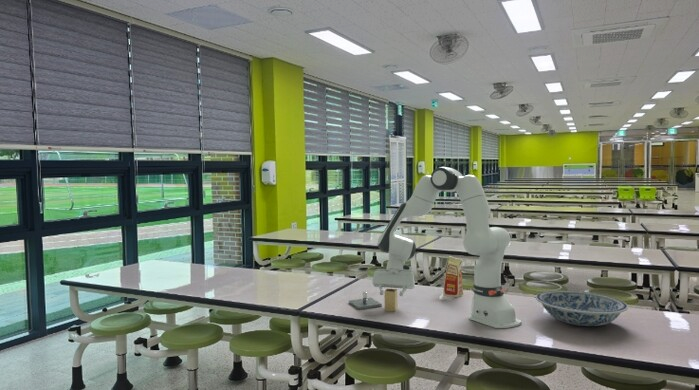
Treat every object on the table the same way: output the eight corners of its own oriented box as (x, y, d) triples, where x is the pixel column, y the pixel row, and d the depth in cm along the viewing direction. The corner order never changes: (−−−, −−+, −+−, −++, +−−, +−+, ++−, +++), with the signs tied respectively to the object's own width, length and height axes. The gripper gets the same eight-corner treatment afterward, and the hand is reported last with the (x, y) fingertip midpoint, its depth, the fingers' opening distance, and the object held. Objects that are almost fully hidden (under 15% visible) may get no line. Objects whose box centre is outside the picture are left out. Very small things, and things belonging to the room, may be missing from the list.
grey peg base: (381, 306, 221) (381, 293, 220) (358, 309, 216) (358, 296, 216) (371, 299, 232) (370, 287, 231) (348, 303, 227) (348, 290, 227)
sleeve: (397, 308, 218) (397, 289, 217) (395, 311, 213) (395, 292, 212) (387, 307, 219) (386, 288, 219) (384, 310, 214) (384, 291, 214)
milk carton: (443, 295, 237) (442, 257, 236) (448, 291, 245) (447, 253, 244) (460, 297, 233) (460, 258, 232) (465, 293, 241) (465, 255, 240)
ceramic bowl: (638, 321, 192) (638, 298, 192) (612, 345, 168) (612, 318, 168) (554, 305, 217) (554, 284, 216) (521, 323, 193) (521, 300, 192)
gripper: (373, 265, 226) (368, 290, 218) (415, 267, 220) (411, 292, 211) (375, 272, 231) (371, 296, 222) (416, 274, 225) (413, 299, 216)
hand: (391, 294), depth 217 cm, fingers open, 8 cm apart
